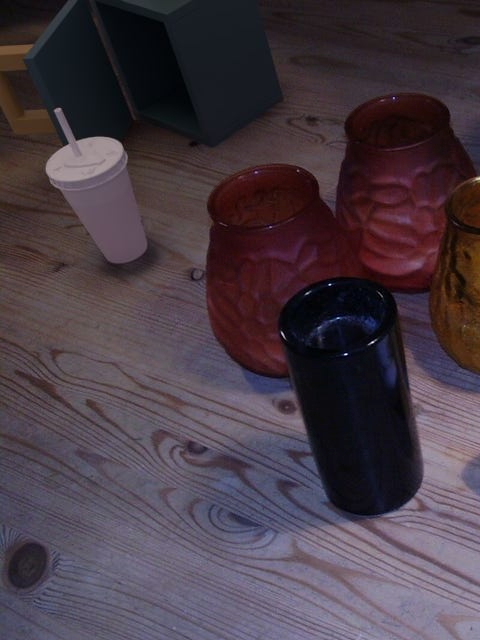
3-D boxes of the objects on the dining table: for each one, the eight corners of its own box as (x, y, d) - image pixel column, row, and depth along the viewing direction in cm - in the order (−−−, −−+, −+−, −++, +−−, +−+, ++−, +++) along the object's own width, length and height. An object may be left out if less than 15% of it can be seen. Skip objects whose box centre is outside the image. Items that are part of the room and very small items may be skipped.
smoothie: (122, 221, 91) (60, 84, 81) (177, 236, 88) (120, 95, 78) (74, 265, 87) (3, 126, 77) (131, 281, 85) (65, 140, 75)
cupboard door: (31, 192, 96) (-36, 62, 86) (76, 123, 104) (20, -3, 94) (93, 189, 95) (32, 58, 85) (134, 120, 103) (83, -7, 93)
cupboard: (213, 149, 98) (166, 14, 88) (135, 118, 104) (83, -12, 94) (284, 100, 103) (248, -33, 93) (206, 73, 109) (164, -55, 99)
